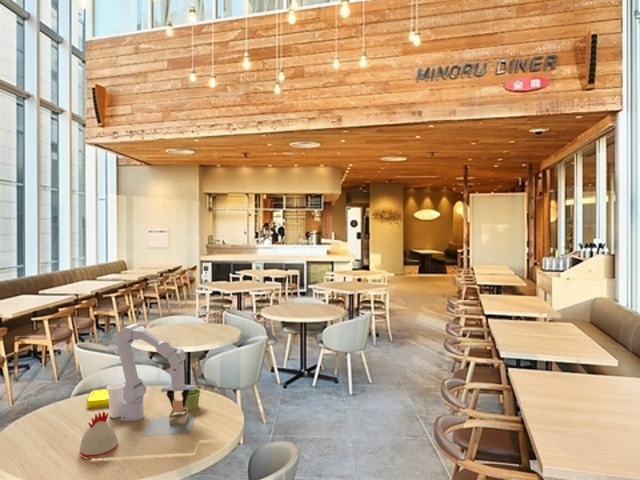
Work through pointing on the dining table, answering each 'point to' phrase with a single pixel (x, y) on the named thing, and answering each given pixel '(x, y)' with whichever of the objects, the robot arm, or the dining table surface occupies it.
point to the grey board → (167, 427)
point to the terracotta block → (178, 404)
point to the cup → (115, 399)
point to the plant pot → (192, 399)
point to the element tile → (98, 399)
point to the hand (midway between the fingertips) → (178, 406)
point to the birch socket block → (178, 417)
